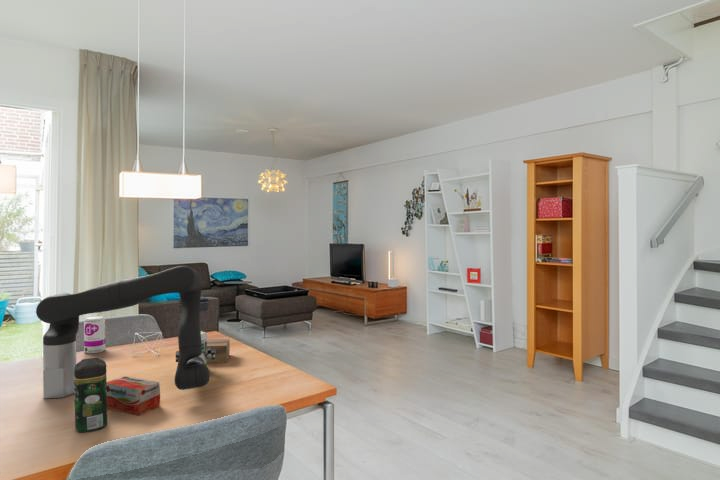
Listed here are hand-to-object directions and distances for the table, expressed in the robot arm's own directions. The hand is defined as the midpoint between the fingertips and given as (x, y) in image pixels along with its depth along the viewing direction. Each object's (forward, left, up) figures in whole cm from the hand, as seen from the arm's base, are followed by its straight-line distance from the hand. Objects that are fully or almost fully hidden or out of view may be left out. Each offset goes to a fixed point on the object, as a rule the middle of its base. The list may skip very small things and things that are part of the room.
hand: (196, 350), depth 177 cm
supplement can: (+34, +49, -8) cm, 61 cm away
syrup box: (+1, 0, -8) cm, 8 cm away
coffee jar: (-47, +20, -8) cm, 51 cm away
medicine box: (-34, +13, -8) cm, 38 cm away
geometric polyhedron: (+26, +25, -8) cm, 37 cm away
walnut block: (+14, -5, -8) cm, 17 cm away
